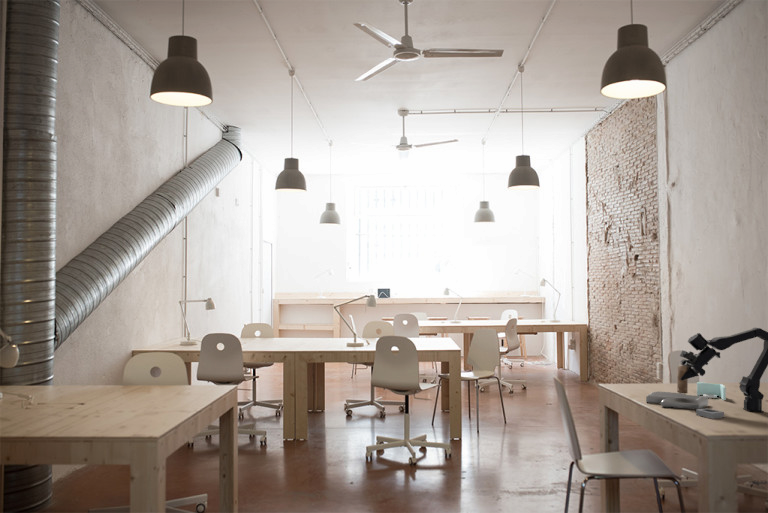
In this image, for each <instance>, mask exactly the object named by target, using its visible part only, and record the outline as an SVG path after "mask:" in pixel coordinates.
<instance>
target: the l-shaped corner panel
mask: <svg viewBox="0 0 768 513" xmlns="http://www.w3.org/2000/svg"><path fill="white" fill-rule="evenodd" d="M726 393H727V388H726V387H725V385H723V383H710V382H698V381H697V382H696V396H700V395H703V396H704V397H706V398H710V399H711V398H717V399H718V398H720V397H721V398H722V399H723V400H726V398H727V396H726V395H727V394H726ZM717 396H719V397H717ZM721 398H720V399H721ZM722 399H721V400H722ZM723 400H722V401H723Z"/></svg>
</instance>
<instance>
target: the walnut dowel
mask: <svg viewBox="0 0 768 513" xmlns="http://www.w3.org/2000/svg"><path fill="white" fill-rule="evenodd" d="M687 367H688V366H683V365H682V364H679V365H677V372H676V373H677V385H676V386H677V391H676V393H682V394H688V388H689V387H688V385H689V384H688V383H689V382H688V380H689V379H685V380H681V377H682V376H683V375H684V374H685V372H686V371H687Z"/></svg>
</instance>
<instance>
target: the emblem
mask: <svg viewBox="0 0 768 513" xmlns="http://www.w3.org/2000/svg"><path fill="white" fill-rule="evenodd" d="M646 402H648V403H647V404H652V403H660V404H659V405H660V406H661V407H663V408H671V407H673V408H672V409H687V410H697V409H704V408H703V407H705V406H706V407H708V406H709V399H708V398H706V397H704V396H700V395H692V394H688V393H678V392H671V391H670V392H669V391H652V392H650V393H649V394H648V395H646V396H645V403H646ZM707 405H708V406H707ZM706 407H705V408H706Z"/></svg>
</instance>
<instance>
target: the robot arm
mask: <svg viewBox="0 0 768 513" xmlns="http://www.w3.org/2000/svg"><path fill="white" fill-rule="evenodd" d="M755 338H758V339H761V340H763V349H762V351H761V353H760V355H759V357H758V359H757V361H756V363H754V366H753V368H752V369H751V371H750V373H749V374H748V375H747V376H742V378H741V380H740V382H738V383H739V389H740V391H741V392H742V393H743V394H742V395H743V397H744V400H743V408H742V410H745V409H746V410H745V411H747V410H748V412H750V411H761V412H760V413H764V412H765V410H762V409H763V407H762V406H763V399H764V396H765V395H764V394H763V393H762V392H761V391H760V388H761V379H762V377H763V375H764V373H765V372H766V370H767V367H768V331H766V330H764V329H762V328H760V327H753V328H751V329H748V330H744V331H742V332H738V333H735V334H732V335H725V336H717V337H713V338H711V339H706V338H705V337H704V336H703V335H702V334H701V333H699V332H698V333H696V334H694V335H692V336H690V337H689V338H688V340H687V343H688V344H689V345H691V347H692V348H693V349H695V350H696V351H699V352H698V353H694V352H692V351H691V350H690V351H686V350H684V349H682V351H681V353H680V355H679V356H680V357H681V358H682V360H681V361H680V363H681V365H683V366H688V367H687V371H686V372H685V374H684V375H683V376H682V377H681V380H685V379H688V380H689V379H692V378H695V377H699V376H701V377H703V376H705V375H706V370H705V369H704V366H705V365H706V366H708V365H709V362H711V360H712V359H713V358H715V357H716V358H718V359H721V352H719V351H726V349H727V350H728V349H729V348H730V347H732V346H733V345H735V344H737V343H741V342H745V341H748V340H751V339H755ZM716 350H718V351H716Z"/></svg>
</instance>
